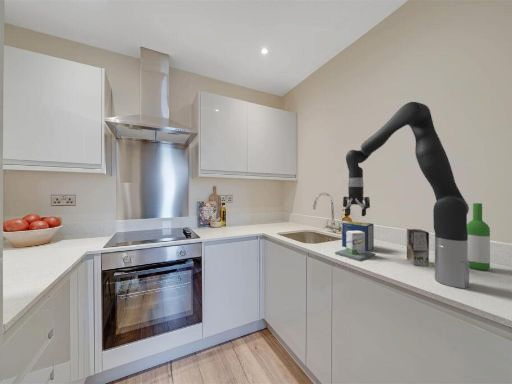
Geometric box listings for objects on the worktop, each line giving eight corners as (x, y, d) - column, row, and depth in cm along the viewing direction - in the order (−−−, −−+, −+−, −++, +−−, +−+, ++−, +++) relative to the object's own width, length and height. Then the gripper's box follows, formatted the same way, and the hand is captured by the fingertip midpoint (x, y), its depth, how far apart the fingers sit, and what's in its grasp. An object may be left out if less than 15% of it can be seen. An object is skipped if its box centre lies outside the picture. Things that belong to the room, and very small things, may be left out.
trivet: (375, 255, 112) (375, 253, 112) (359, 261, 104) (359, 258, 104) (351, 249, 124) (351, 247, 124) (335, 254, 115) (335, 251, 115)
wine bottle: (488, 272, 89) (488, 204, 89) (463, 267, 96) (463, 203, 96) (491, 269, 94) (491, 203, 94) (467, 264, 100) (467, 202, 100)
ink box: (352, 254, 110) (352, 232, 110) (345, 251, 115) (345, 231, 115) (365, 253, 112) (365, 232, 112) (358, 250, 117) (358, 230, 117)
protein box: (349, 243, 139) (349, 220, 139) (373, 248, 127) (374, 223, 127) (341, 246, 132) (341, 222, 132) (366, 251, 120) (366, 225, 120)
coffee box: (429, 266, 96) (429, 232, 96) (413, 265, 98) (413, 231, 98) (421, 260, 105) (421, 229, 105) (406, 259, 107) (406, 228, 107)
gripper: (372, 186, 110) (372, 216, 110) (347, 186, 122) (347, 213, 122) (364, 185, 106) (364, 217, 106) (340, 186, 118) (340, 214, 118)
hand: (355, 215), depth 114 cm, fingers open, 8 cm apart
